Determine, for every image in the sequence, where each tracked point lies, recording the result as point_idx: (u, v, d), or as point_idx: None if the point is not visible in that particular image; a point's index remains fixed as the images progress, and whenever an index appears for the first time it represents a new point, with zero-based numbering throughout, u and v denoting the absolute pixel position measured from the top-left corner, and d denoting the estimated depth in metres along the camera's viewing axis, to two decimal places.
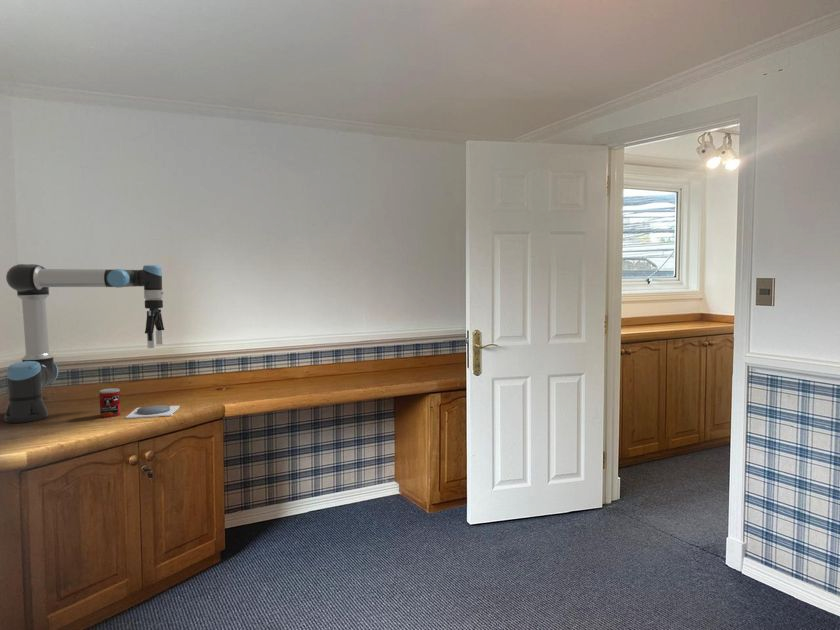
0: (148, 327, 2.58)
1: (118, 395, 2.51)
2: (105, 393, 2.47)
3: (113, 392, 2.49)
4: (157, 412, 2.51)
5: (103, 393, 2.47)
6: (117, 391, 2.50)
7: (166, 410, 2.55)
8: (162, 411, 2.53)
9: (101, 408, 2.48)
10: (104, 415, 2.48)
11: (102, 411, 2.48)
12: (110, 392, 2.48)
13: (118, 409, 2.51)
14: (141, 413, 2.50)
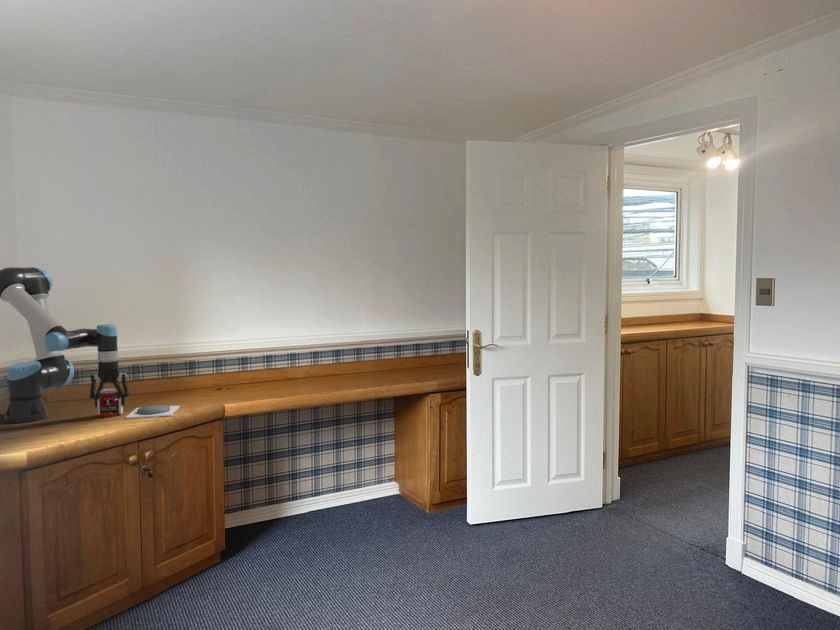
0: None
1: (118, 395, 2.51)
2: (105, 393, 2.47)
3: (113, 392, 2.49)
4: (157, 412, 2.51)
5: (103, 393, 2.47)
6: (117, 391, 2.50)
7: (166, 410, 2.55)
8: (162, 411, 2.53)
9: (101, 408, 2.48)
10: (104, 415, 2.48)
11: (102, 411, 2.48)
12: (110, 392, 2.48)
13: (118, 409, 2.51)
14: (141, 413, 2.50)
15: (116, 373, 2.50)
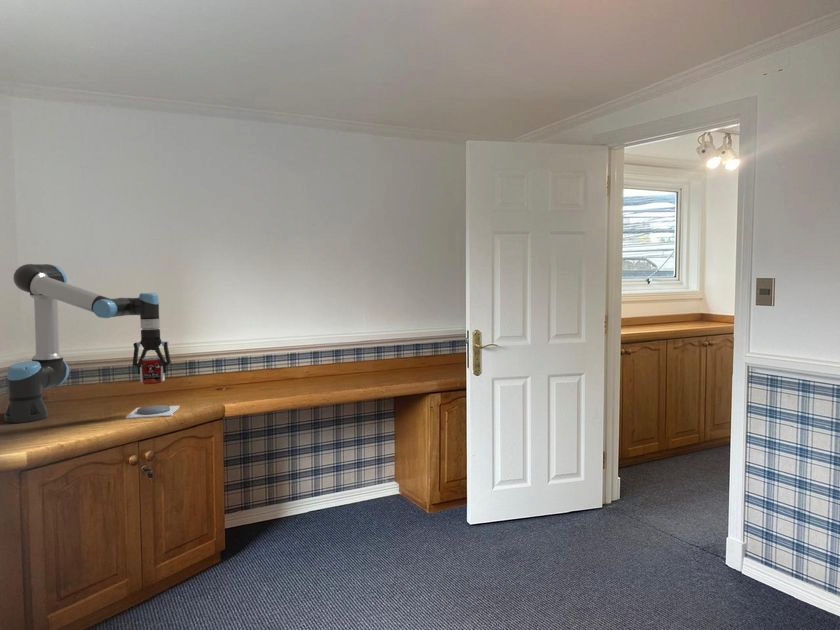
0: None
1: (160, 363, 2.55)
2: (148, 360, 2.51)
3: (155, 359, 2.52)
4: (157, 412, 2.51)
5: (146, 360, 2.51)
6: (159, 359, 2.54)
7: (166, 410, 2.55)
8: (162, 411, 2.53)
9: (144, 375, 2.52)
10: (147, 382, 2.51)
11: (145, 378, 2.52)
12: (153, 359, 2.51)
13: (160, 376, 2.55)
14: (141, 413, 2.50)
15: (158, 341, 2.54)
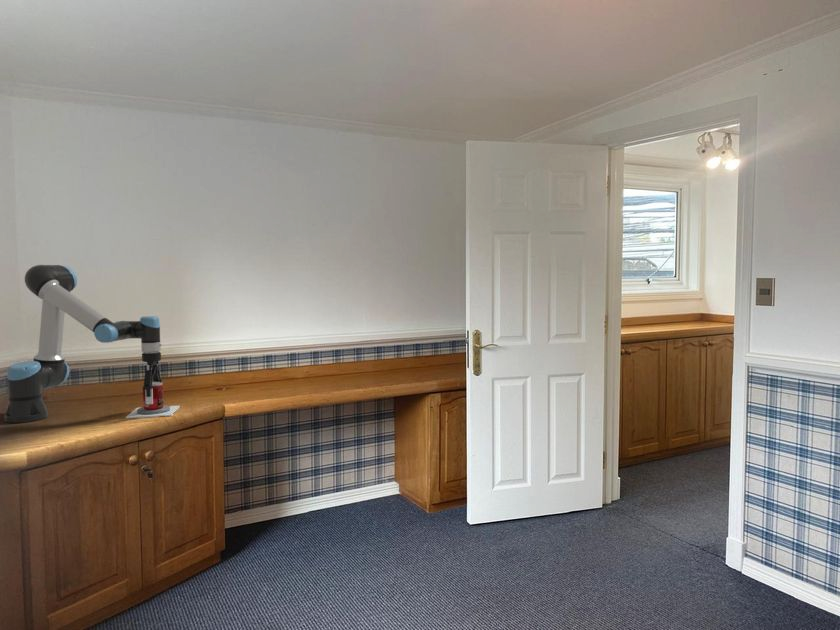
0: (146, 383, 2.46)
1: None
2: (162, 384, 2.56)
3: None
4: (157, 412, 2.51)
5: (161, 385, 2.55)
6: None
7: (166, 410, 2.55)
8: (162, 411, 2.53)
9: (158, 400, 2.54)
10: (161, 406, 2.56)
11: (160, 403, 2.55)
12: None
13: None
14: (141, 413, 2.50)
15: (156, 363, 2.58)
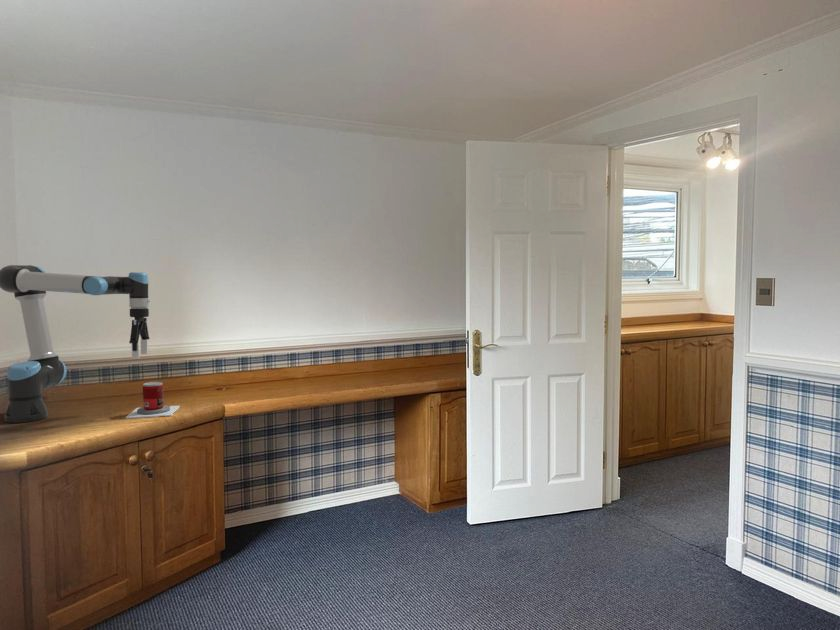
0: (133, 337, 2.48)
1: None
2: (162, 384, 2.56)
3: None
4: (157, 412, 2.51)
5: (161, 385, 2.55)
6: None
7: (166, 410, 2.55)
8: (162, 411, 2.53)
9: (158, 400, 2.54)
10: (161, 406, 2.56)
11: (160, 403, 2.55)
12: None
13: None
14: (141, 413, 2.50)
15: (144, 319, 2.60)
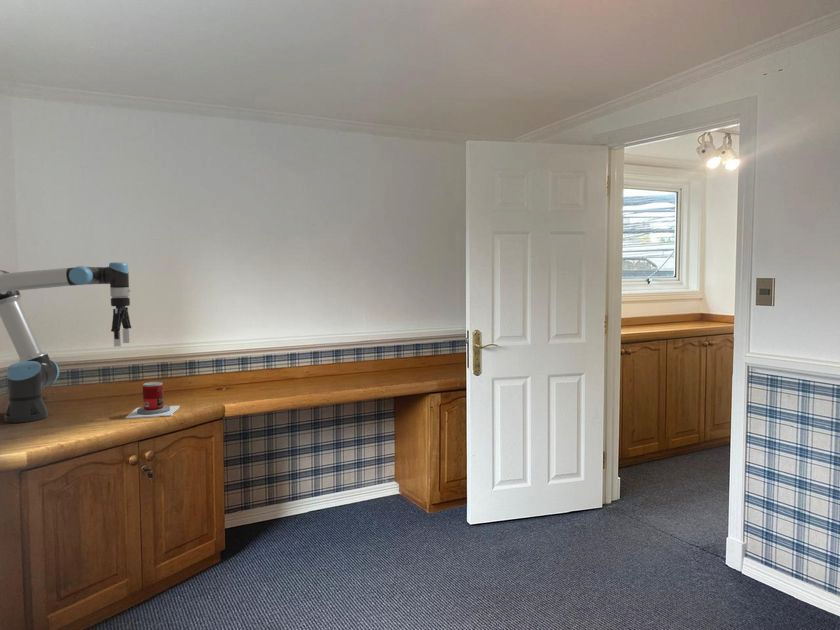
0: (114, 325, 2.54)
1: None
2: (162, 384, 2.56)
3: None
4: (157, 412, 2.51)
5: (161, 385, 2.55)
6: None
7: (166, 410, 2.55)
8: (162, 411, 2.53)
9: (158, 400, 2.54)
10: (161, 406, 2.56)
11: (160, 403, 2.55)
12: None
13: None
14: (141, 413, 2.50)
15: (125, 308, 2.66)
